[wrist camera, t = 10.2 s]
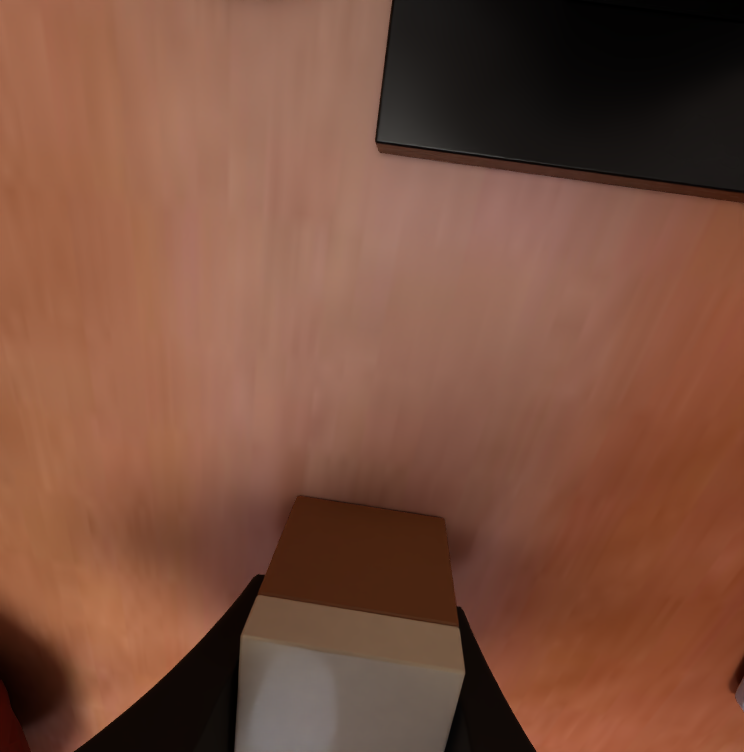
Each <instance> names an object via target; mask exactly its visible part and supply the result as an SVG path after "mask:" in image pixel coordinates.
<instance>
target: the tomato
mask: <svg viewBox="0 0 744 752" xmlns="http://www.w3.org/2000/svg"><path fill="white" fill-rule="evenodd" d="M0 752H31V751H30V748H29V746H28V743H27V740H26V738H25V735H24V733H23V730H22V728H21V725H20V723H19V721H18V720H17V718H16V716H15V714H14V712H13V711H12V709H11V705H10V700H9V696H8V692H7V690H6V688H5V686H4V684H3V682H2V680H1V679H0Z"/></svg>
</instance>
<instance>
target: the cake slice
mask: <svg viewBox="0 0 744 752" xmlns="http://www.w3.org/2000/svg"><path fill="white" fill-rule="evenodd" d="M458 627H459V622H458V615H457V607H456V600H455V593H454V585H453V578H452V570H451V563H450V555H449V548H448V541H447V533H446V526H445V520H444V519H443V518H438V517H432V516H426V515H419V514H413V513H406V512H400V511H394V510H387V509H381V508H374V507H368V506H362V505H355V504H349V503H342V502H336V501H330V500H323V499H317V498H310V497H304V496H297V498H296V500H295V502H294V505H293V507H292V510H291V512H290V515H289V517H288V520H287V522H286V525H285V527H284V530H283V532H282V535H281V537H280V540H279V542H278V545H277V547H276V550H275V552H274V554H273V557H272V559H271V562H270V564H269V567H268V569H267V572H266V574H265V577H264V579H263V582H262V584H261V587H260V589H259V592H258V596H257V597H256V599H255V601H254V604H253V606H252V609H251V611H250V614H249V616H248V619H247V621H246V624H245V626H244V629H243V631H242V634H241V638H240V656H239V673H238V691H237V709H236V726H235V744H234V752H444V751H445V747H446V744H447V740H448V736H449V732H450V729H451V725H452V721H453V717H454V714H455V710H456V706H457V702H458V699H459V695H460V691H461V687H462V684H463V680H464V676H465V666H464V659H463V651H462V644H461V636H460V630H459V628H458Z"/></svg>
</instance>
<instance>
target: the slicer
mask: <svg viewBox="0 0 744 752" xmlns="http://www.w3.org/2000/svg"><path fill="white" fill-rule="evenodd" d="M375 142H376V145H377V148H378V151H379V152H380V153H385V154H393V155H400V156H407V157H414V158H422V159H429V160H436V161H444V162H451V163H458V164H465V165H473V166H480V167H487V168H494V169H502V170H509V171H516V172H524V173H531V174H538V175H545V176H553V177H560V178H567V179H574V180H582V181H589V182H596V183H603V184H611V185H618V186H625V187H633V188H640V189H647V190H654V191H662V192H669V193H676V194H683V195H691V196H698V197H705V198H713V199H720V200H727V201H734V202H742V203H744V0H392V6H391V14H390V22H389V31H388V39H387V47H386V55H385V63H384V71H383V80H382V88H381V96H380V104H379V112H378V120H377V129H376V137H375Z"/></svg>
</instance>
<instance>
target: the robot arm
mask: <svg viewBox="0 0 744 752" xmlns="http://www.w3.org/2000/svg"><path fill="white" fill-rule="evenodd" d="M264 577H265V575H260V574H258V575H256V576H255V577H253V579H252V580H251V582H250V583H249V584H248V586H247V587H246V588H245V590H244V591H243V592H242V593H241V595H240V596H239V597H238V598H237V600H236V601H235V602H234V603H233V604H232V606H231V607H230V608H229V609H228V610H227V612H226V613H225V614H224V615H223V616H222V617H221V619H220V620H219V621H218V622H217V623H216V624H215V625H214V626H213V627H212V629H211V630H210V631H209V632H208V633H207V634H206V635H205V636H204V637H203V638H202V640H201V641H200V642H199V643H198V644H197V645H196V646H195V647H194V648H193V649H192V650H191V651H190V652H189V653H188V654H187V655H186V656H185V657H184V658H183V659H182V660H181V661H180V662H179V663H178V664H177V665H176V666H175V667H174V668H173V669H172V670H171V671H170V672H169V673H168V674H167V675H166V676H165V677H163V678H162V679H161V680H160V681H159V682H158V683H157V684H156V685H155V686H154V687H153V688H152V689H150V690H149V691H148V692H147V693H146V694H145V695H144V696H142V697H141V698H140V699H139V700H138V701H137V702H136V703H134V704H133V705H132V706H131V707H130V708H129V709H127V710H126V711H125V712H124V713H123V714H121V715H120V716H119V717H118V718H116V719H115V720H114V721H113V722H111V723H110V724H109V725H108V726H107V727H105V728H104V729H103V730H102V731H100V732H99V733H98V734H97V735H95V736H94V737H93V738H91V739H90V740H89V741H87V742H86V743H85V744H84V745H82V746H81V747H80V748H78V749H77V750H75V751H74V752H234V744H235V726H236V709H237V691H238V673H239V656H240V638H241V634H242V631H243V629H244V626H245V624H246V621H247V619H248V616H249V614H250V611H251V609H252V606H253V604H254V601H255V599H256V597H257V596H258V592H259V589H260V587H261V584H262V582H263V579H264ZM456 607H457V615H458V622H459V627H458V628H459V630H460V636H461V644H462V651H463V659H464V666H465V676H464V680H463V684H462V687H461V691H460V695H459V699H458V702H457V706H456V710H455V714H454V717H453V721H452V725H451V729H450V732H449V736H448V740H447V744H446V747H445V751H444V752H536V750H535V749H534V747H533V745H532V744H531V742H530V741H529V739H528V737H527V736H526V734H525V732H524V731H523V729H522V727H521V725H520V724H519V722H518V720H517V719H516V717H515V715H514V713H513V712H512V710H511V708H510V706H509V705H508V703H507V701H506V699H505V697H504V695H503V694H502V692H501V690H500V688H499V686H498V684H497V682H496V680H495V678H494V676H493V674H492V672H491V670H490V668H489V666H488V664H487V662H486V660H485V658H484V656H483V654H482V652H481V650H480V648H479V646H478V643H477V641H476V639H475V637H474V635H473V632H472V630H471V628H470V625H469V623H468V621H467V618H466V616H465V613H464V611H463V610H462V608H461V607H459V606H456ZM735 698H736V701H737V702H738V704H739V705H740V707H741V708H742V710H743V711H744V677H743V679H742V681H741V683H740V685H739V687H738V688H737V690H736V694H735Z"/></svg>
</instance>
